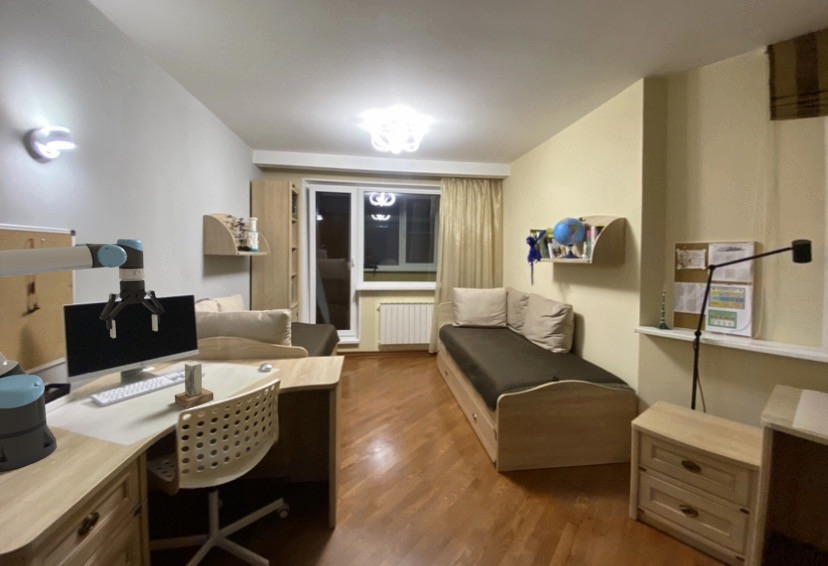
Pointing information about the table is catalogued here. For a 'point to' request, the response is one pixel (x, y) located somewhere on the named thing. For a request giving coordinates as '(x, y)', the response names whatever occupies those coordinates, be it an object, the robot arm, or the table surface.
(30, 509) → the table surface
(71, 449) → the table surface
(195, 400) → the base
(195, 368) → the box
